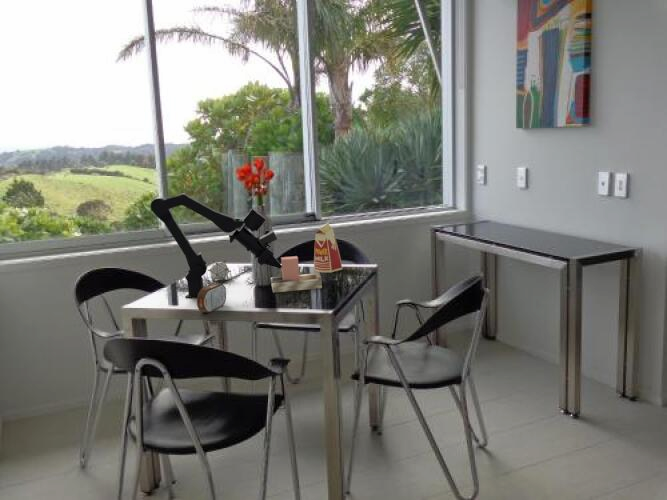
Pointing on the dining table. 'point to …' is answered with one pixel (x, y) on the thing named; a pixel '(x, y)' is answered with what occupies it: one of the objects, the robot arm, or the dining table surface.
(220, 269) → the geodesic ball
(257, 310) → the dining table surface
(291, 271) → the coral block
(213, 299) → the tin
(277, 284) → the wooden tray
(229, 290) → the dining table surface
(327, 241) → the milk carton
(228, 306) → the dining table surface
